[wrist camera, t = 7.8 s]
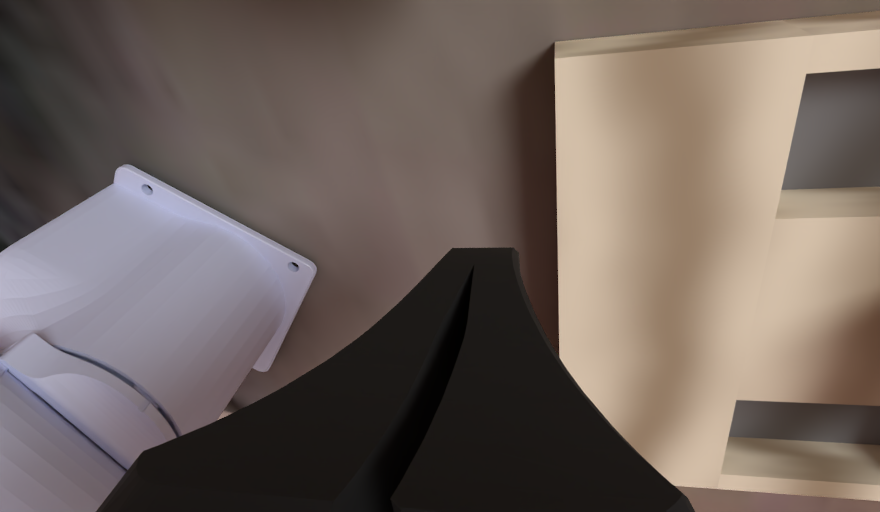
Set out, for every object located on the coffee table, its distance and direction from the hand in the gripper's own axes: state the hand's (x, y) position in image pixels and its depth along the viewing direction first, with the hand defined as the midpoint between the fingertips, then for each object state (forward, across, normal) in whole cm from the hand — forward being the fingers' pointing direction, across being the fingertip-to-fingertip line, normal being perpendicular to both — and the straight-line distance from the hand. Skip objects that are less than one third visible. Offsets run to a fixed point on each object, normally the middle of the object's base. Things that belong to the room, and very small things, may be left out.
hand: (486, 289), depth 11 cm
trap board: (+10, -11, +7) cm, 16 cm away
